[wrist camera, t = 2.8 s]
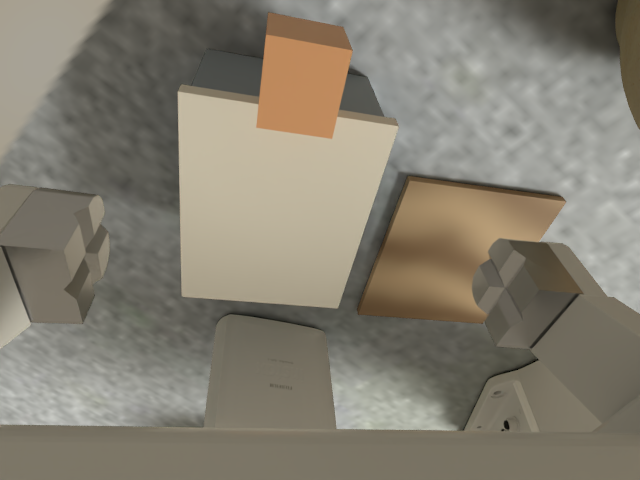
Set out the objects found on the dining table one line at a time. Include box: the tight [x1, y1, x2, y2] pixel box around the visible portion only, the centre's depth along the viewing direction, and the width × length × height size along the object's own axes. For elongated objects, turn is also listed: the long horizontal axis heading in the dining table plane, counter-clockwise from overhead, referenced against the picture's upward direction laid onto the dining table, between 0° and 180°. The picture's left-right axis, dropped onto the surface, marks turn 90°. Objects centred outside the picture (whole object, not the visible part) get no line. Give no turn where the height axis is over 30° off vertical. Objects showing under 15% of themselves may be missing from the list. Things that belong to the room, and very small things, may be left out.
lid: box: [178, 12, 399, 308], centre depth 21 cm, size 16×10×4 cm, turn 169°
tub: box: [191, 49, 384, 117], centre depth 25 cm, size 12×9×6 cm
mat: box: [357, 176, 566, 324], centre depth 34 cm, size 14×12×1 cm
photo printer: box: [203, 314, 336, 429], centre depth 34 cm, size 10×4×12 cm, turn 68°
